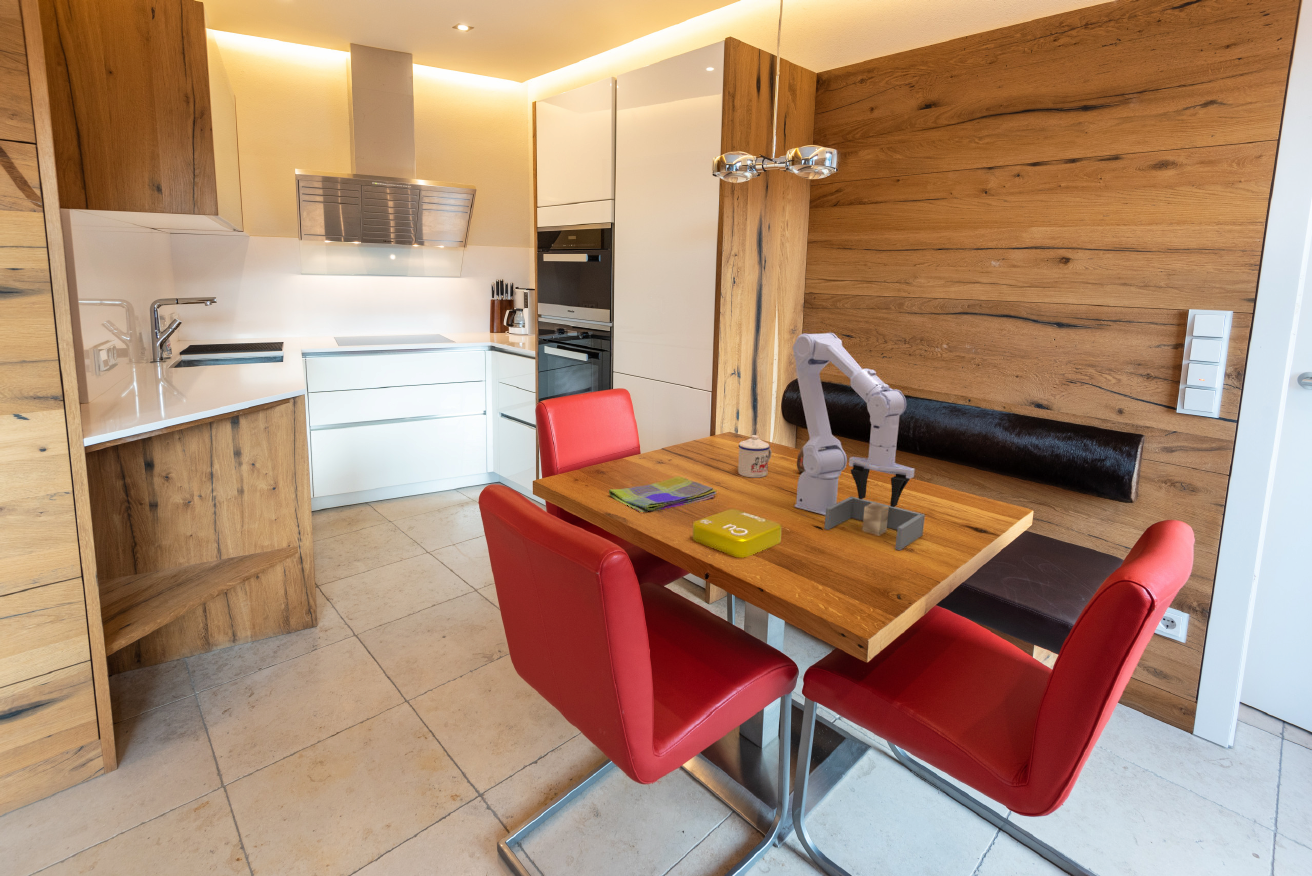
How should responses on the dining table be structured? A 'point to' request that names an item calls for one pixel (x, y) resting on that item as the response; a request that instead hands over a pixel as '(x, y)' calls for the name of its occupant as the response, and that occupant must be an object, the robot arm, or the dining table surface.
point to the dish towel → (663, 494)
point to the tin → (800, 460)
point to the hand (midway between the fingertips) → (877, 502)
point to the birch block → (875, 519)
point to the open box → (898, 519)
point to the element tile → (737, 533)
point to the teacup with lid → (753, 457)
